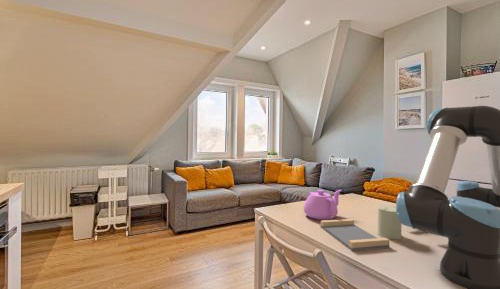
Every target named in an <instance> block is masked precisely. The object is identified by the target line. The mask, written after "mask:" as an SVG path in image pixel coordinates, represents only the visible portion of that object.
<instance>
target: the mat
mask: <svg viewBox="0 0 500 289" xmlns="http://www.w3.org/2000/svg"><path fill="white" fill-rule="evenodd" d="M320 228H321V229H322V230H324V231H325V232H327V233H328V234H329V235H330V236H332V237H333V238H334V239H336V240H337V241H338V242H340V243H341V244H342V245H344V246H345V247H346V248H347V249H348V250H350V251H353V252H354V251H363V250H375V249H389V248H390V240H391V239H388V238H384V237H376V236H375V235H373V234H371V233H370V232H368V231H366V230H365V229H362V227H359V226H358V225H356V224H355V219H352V218H350V219H349V218H348V219H346V218H343V219H329V220H320Z"/></svg>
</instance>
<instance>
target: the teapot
mask: <svg viewBox="0 0 500 289" xmlns="http://www.w3.org/2000/svg"><path fill="white" fill-rule="evenodd" d="M316 191H317V192H314V191H310V192H308V195H307V198H306V200H305V202H304V204H303V212H304V213H305V215H306V216H308V217H309V218H311V219H315V220H319V221H323V220H334V218H336V216H337V215H338V206H339V194H340V192H342V189H337V190H336V191H335V192H334V195H333V196H332V195H331V194H330V193H327V192H325V190H323V189H317V190H316Z"/></svg>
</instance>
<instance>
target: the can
mask: <svg viewBox="0 0 500 289" xmlns="http://www.w3.org/2000/svg"><path fill="white" fill-rule="evenodd" d="M402 225H403V224H402V223H401V222H400V221H399V219H398V217H397V213H396V206H391V205H379V206H378V207H377V231H376V233H377V235H378V236H379V237H380V238H387V239H389V240H400V239H402Z"/></svg>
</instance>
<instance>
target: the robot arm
mask: <svg viewBox="0 0 500 289" xmlns="http://www.w3.org/2000/svg"><path fill="white" fill-rule="evenodd" d="M426 130H427V133H428V135H429V137H430V139H431V141H430V144H429V148H428V151H427V153H426V156H425V158H424V160H423V163H422V166H421V169H420V171H419V174H418V176H417V179H416V182H415V184H412V185H411V184H410V186H409V187H408V189H407V192H406V191H401V192H399V193H398V195H397V197H396V199H395V200H396V201H395V207H396V213H397V217H398V219H399V221H400V222H401V223H402V225H403V226H406V227H409V228H410V229H413V230H418V231H423V232H426V233H429V234H434V235H437V236H440V237H441V236H442V237H444V238H447V239H448V240H447V242H448V243H447V248H446V250H445V252H444V254H443V256H442V257H441V260H440V263H439V271H440V273H441V274H442V275H443V276H444V278H446V279H448V280H450V281H451V282H453V283H455V284H457V285H459V286H461V287H464V288H466V289H500V109H498V108H496V107H493V106H489V105H476V106H458V107H444V108H437V109H435V110H433V111H432V112H431V113H430V115H429V116H428V119H427V124H426ZM473 137H474V138H478V137H479V138H481V140H482V142H483V144H484V145H486V151H487V152H486V153H487V158H488V165H489V166H488V167H489V172H490V180H491V182H490V183H491V188H487V187H481V186H480V184H479V183H478V182H476V181H471V180H459V181H457V183H456V184H457V186H456V189H455V190H456V196H451V197H450V198H449V197H448V195H447V194H446V193H445V191H446V189H447V185H448V182H449V179H450V176H451V172H452V169H453V167H454V164H455V160H456V158H457V154H458V151H459V148H460V145H463V144H465V143H466V141H467V140H468V138H473Z"/></svg>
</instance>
